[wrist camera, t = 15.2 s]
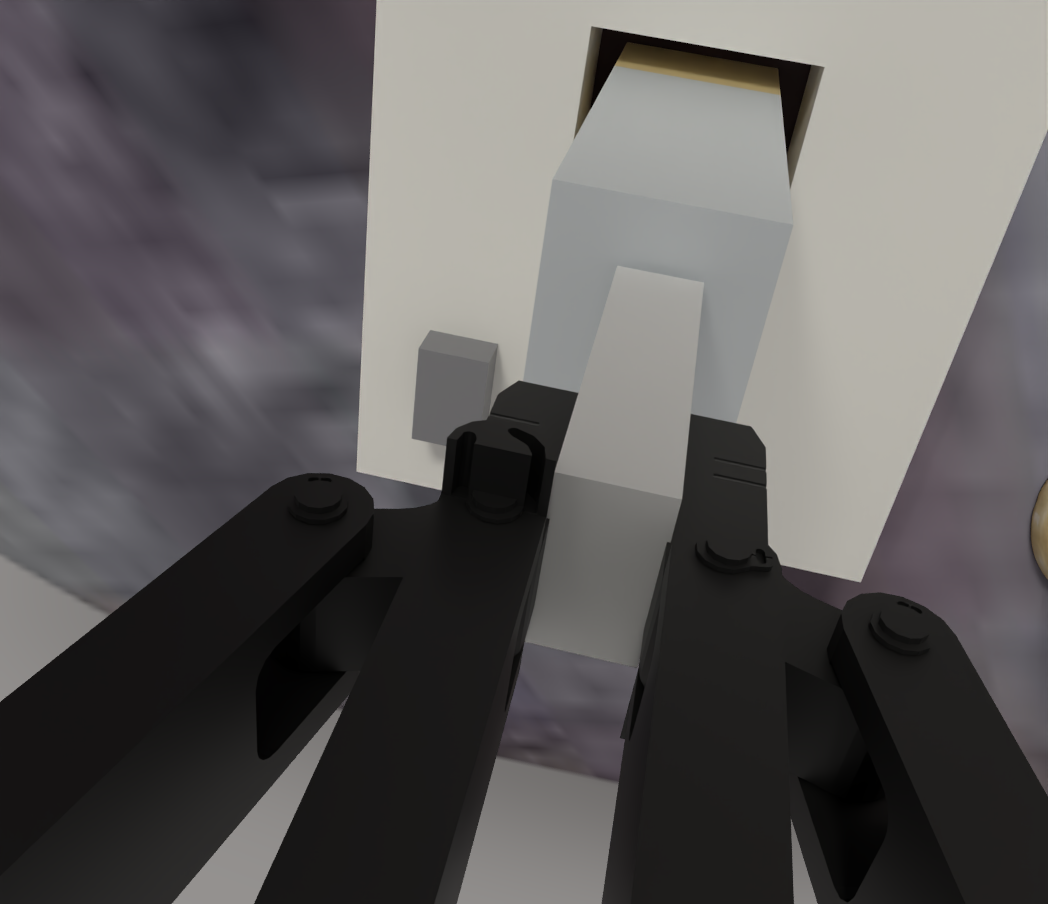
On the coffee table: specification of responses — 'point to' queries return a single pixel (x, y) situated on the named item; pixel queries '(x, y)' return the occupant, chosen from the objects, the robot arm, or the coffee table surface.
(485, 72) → the socket plate
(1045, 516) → the hand bell
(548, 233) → the plug
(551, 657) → the coffee table surface
